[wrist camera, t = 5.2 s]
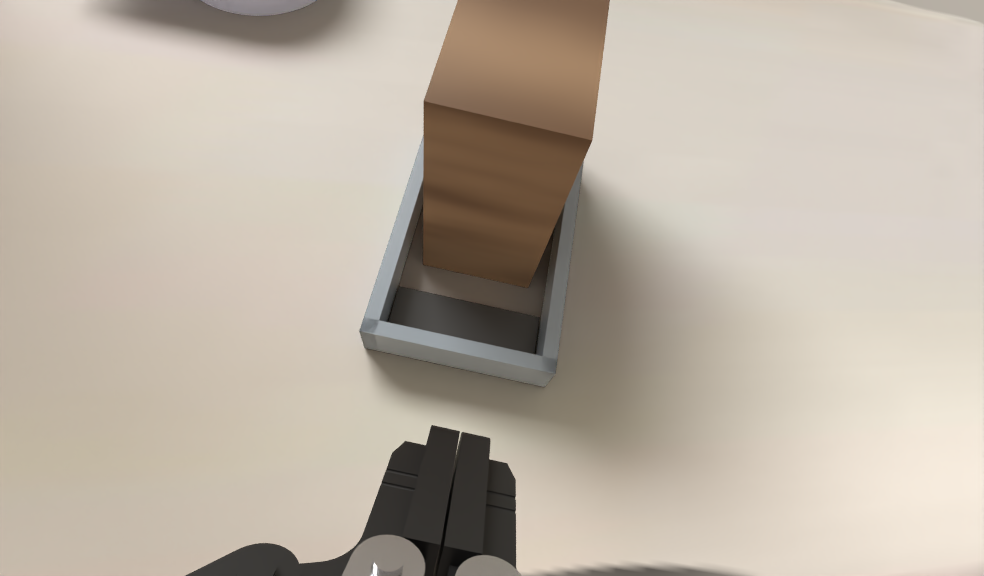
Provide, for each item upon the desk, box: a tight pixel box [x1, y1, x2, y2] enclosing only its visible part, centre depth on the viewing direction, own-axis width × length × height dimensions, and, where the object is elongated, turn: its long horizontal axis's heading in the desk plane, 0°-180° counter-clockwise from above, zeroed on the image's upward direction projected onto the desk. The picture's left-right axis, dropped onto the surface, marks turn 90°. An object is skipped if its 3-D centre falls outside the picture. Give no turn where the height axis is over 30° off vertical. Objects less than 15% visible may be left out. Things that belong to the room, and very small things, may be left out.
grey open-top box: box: [360, 135, 584, 387], centre depth 23 cm, size 12×8×2 cm, turn 170°
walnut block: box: [423, 0, 610, 288], centre depth 21 cm, size 9×5×10 cm, turn 170°
